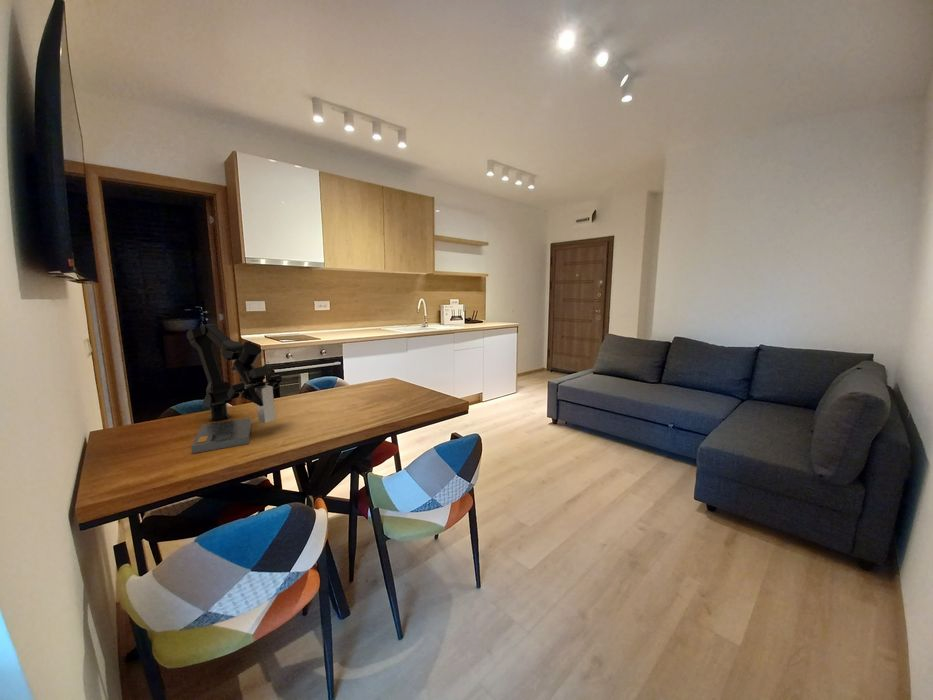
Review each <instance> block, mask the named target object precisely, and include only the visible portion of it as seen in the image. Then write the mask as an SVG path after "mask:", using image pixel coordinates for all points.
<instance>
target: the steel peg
mask: <svg viewBox="0 0 933 700" xmlns="http://www.w3.org/2000/svg"><path fill="white" fill-rule="evenodd" d="M255 392H256V394H257V395H258V397H259V398H260V400H261V402H262V404H263V406H259V405H257V404H256V406H257V407H256V408H257V418H258V422H261V423H263V424H267V423H270V422H273V421H276V411H275V410H276V409H275V398H273V397H274V389H273V387H272V386H268V385H264V386H259V387H255Z"/></svg>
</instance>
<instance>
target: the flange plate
mask: <svg viewBox="0 0 933 700" xmlns="http://www.w3.org/2000/svg"><path fill="white" fill-rule="evenodd" d="M251 428H252V418H251V417H246V418H241V419H234V420H233V419H232V420H226V421H219V422H218V421H217V422H212V423H211V422H210V423H206V424H205V423H204V424H201V426H200V428H199V430H198V432H197V434H196V436H195V438H194V440H193V442H192V444H191V446H190V449H191V454H197V453H198V454H199V453H204V452H211V451H215V450H222V449H227V448H232V447H238V446H243V445H249V443H250V436H251V430H252V429H251Z"/></svg>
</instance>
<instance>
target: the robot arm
mask: <svg viewBox="0 0 933 700" xmlns="http://www.w3.org/2000/svg"><path fill="white" fill-rule="evenodd" d="M186 339H187V340H188V341H189V343H190V345H191V347H193V348H194V349H195V350H197V354H198V355H199V358H200V361H201V364H202V368H203V371H204V374H205V377H206V380H207V386H206V389H205V392H206V393H205V394H206V395H205V397H204V399H203V400H202V401H203V402H202V403H203V406H204V407H205V408H209V409H210V418H209V422H210V421H211V422H216V421H217V422H218V421H224V420H228V419H229V418H230V416H231V415H230V413H228V406H227V404H231V403H232V402H233V400H234V399H237V398H239V396H241V397H240V399H245V400H248V401H250V402H251V403H254V404H256V406H257V405H259V406H263V404H262V402H261V400H260V398H259V397H258V395H257V394H256V389H255V387H259V386H264V385H268V386H272V387H273V390H274V389H277V388H279V387H280V386H281V384H282V382H283V381H284V378H283V376H282V375H280V374H276V375H271V376H269V378H268V379H267V380H266V376H267V375H269V374H270V373H271V372H273V367H272V366H271V364H269V363H266V364H264V365H262V366H258V367H255V366H254V364H255V363H256V361H257V360H258V358H259V356H260V354H261V353H262V348H261V346H259V345H258V344H255V343H252V341H244V343H241V342H240V341H235V340H233V339H231V338H230V337H229V336H228V335H227V334H226V333H225V332H223V331H222V330H221V329H220V328H219V326H218V324H215V323H209V324H203V325H200V326H198V327H197V326H196V327H195V328H194V327H193V328H189V330H188V331H187V332H186ZM213 343H214V344H215V345H216V346H217V347H218V348H219V349H220V350H221V356H222V357H223V359H225V361H227V362H230V361H231V362H232V361H234V362H233V363H232V367H231V370H232V371H236V372H237V373H238V376H239V381H240V382H238V383H235V384H231V386H230V383H229V382H228V381H225V380H224V379H222V375H221V372H220V369H219V366H218V363H217V362H218V361H217V360H216V357H215V354H214V351H213ZM273 398H274V396H273ZM274 399H275V398H274Z"/></svg>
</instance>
